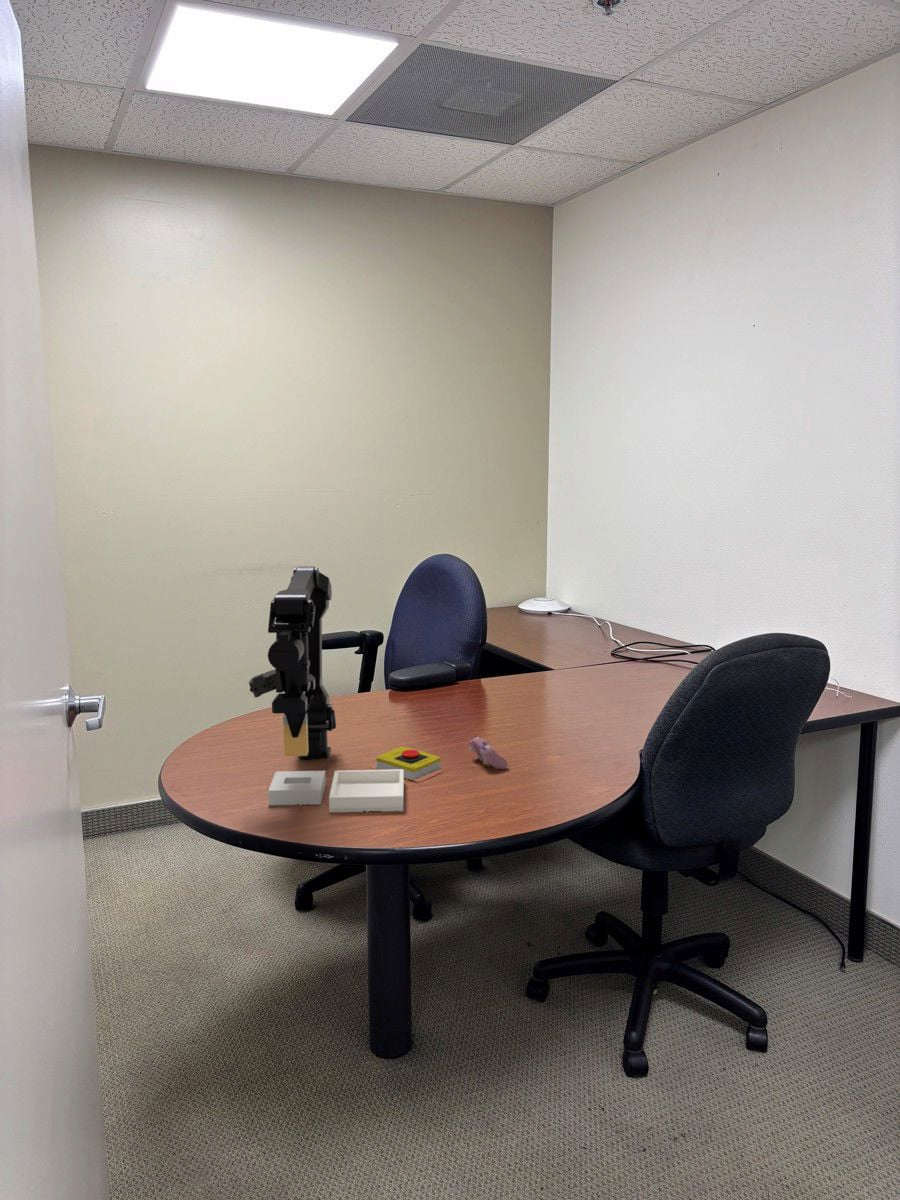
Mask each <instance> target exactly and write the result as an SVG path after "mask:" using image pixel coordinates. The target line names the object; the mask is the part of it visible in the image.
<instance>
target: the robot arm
mask: <svg viewBox="0 0 900 1200" xmlns="http://www.w3.org/2000/svg"><path fill="white" fill-rule="evenodd" d="M292 572H293V574H292V576H291V578H290V582H289V583H288V586H287V589H284V590H279V591H278V592H277V593H276V594H275V595H274V597H273V599H272V600H271V601H270V607H269V617H268V628H267V633H268V634H275V635H276V638H275V641H274V642H273V643H272V644H271V645H270V646H269V649H268V651H267V659H268V661H269V664H270V665H271V666H272V667H273V668H274V669H272V670H268V671H266V672H262V673H261V674H257V675H255V676H253V677H252V678H250V680H249V681H248V685H249V692H251V693H252V694H253V696H254V698H258V697H261V696H262V695H264V694H267V693H270V692H272V691H275V693H278V694H276V696H275V697H274V699H273V700H272V702H271V711H272V714H283V715H284V714H285V715H286V718H287V721H288V725H289V728H290V731H291V735H292V737H293V738H297V737H298V736H299V733H300V730H301V727H302V724H303V721H304V718H305V715H306V713H307V720H308V751H309V752H308V755H307V756H298V759H299V760H314V759H318V760H319V759H324V760H325V759H329V757H330V754H331V750H332V749H331V747H330V746H328V745H329V744H328V732H332V731H333V730H334V729H336V728H337V719H336V712H335V710H334V709H333V704H331V703H330V695H329V693H328V692H327V690H326V688H325V687H324V685H323V626H322V625H323V624H322V623H323V621H322V620H323V618H324V617H325V615H326V612H327V611H328V609H329V608H330V607H329V606H330V601H331V600H332V598H333V597H332V595H333V594H332V592H333V589H332V584H331V580H330V578H329V577H328V576H326V575H325V574H323V573H322V572H320V570H319V567H316V566H297V567H294V568H293V571H292Z"/></svg>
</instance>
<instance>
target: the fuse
mask: <svg viewBox="0 0 900 1200" xmlns="http://www.w3.org/2000/svg"><path fill="white" fill-rule="evenodd" d="M282 721H283V723H282V724H283V725H282V726H283V746H284V747H283V749H284V752H283V753H284V757H299V756H307V755H308V752H309V751H308V720H307V713H306V715H305V718H304V721H303V724H302V727H301V730H300V733H299V736H298V737H297V738H293V737H292V735H291V731H290V728H289V725H288V721H287V718H286V715H285V714H284V713H283V716H282Z"/></svg>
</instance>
